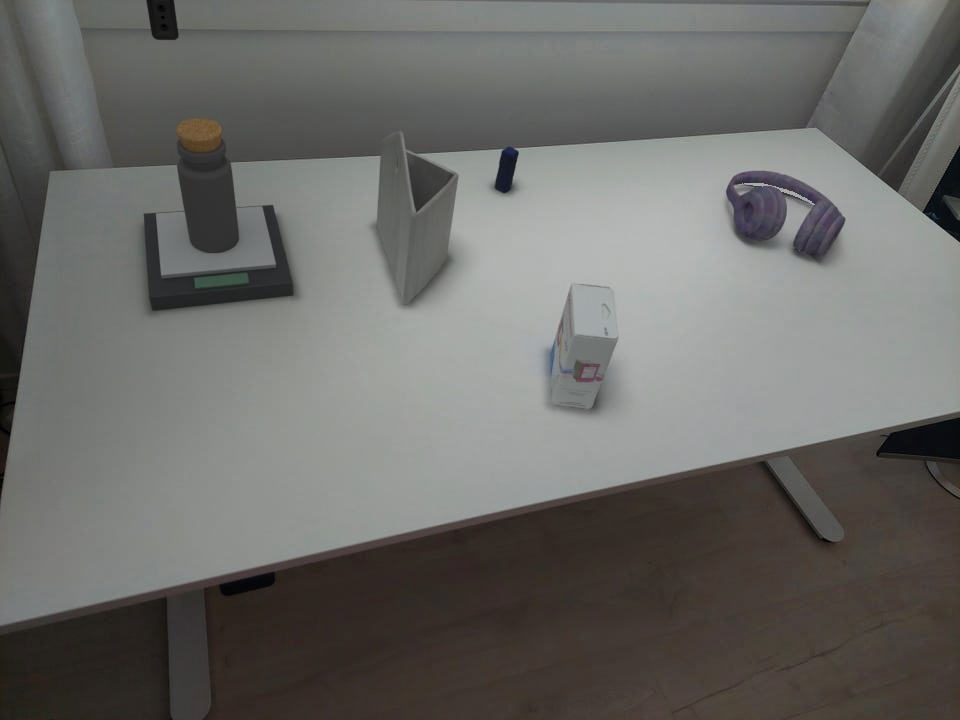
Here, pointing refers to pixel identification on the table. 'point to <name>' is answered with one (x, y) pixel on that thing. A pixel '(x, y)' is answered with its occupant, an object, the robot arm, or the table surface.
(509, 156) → the eraser
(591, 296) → the ink box
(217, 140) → the bottle
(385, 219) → the planter
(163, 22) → the robot arm
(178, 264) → the scale
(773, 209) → the headphones
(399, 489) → the table surface
